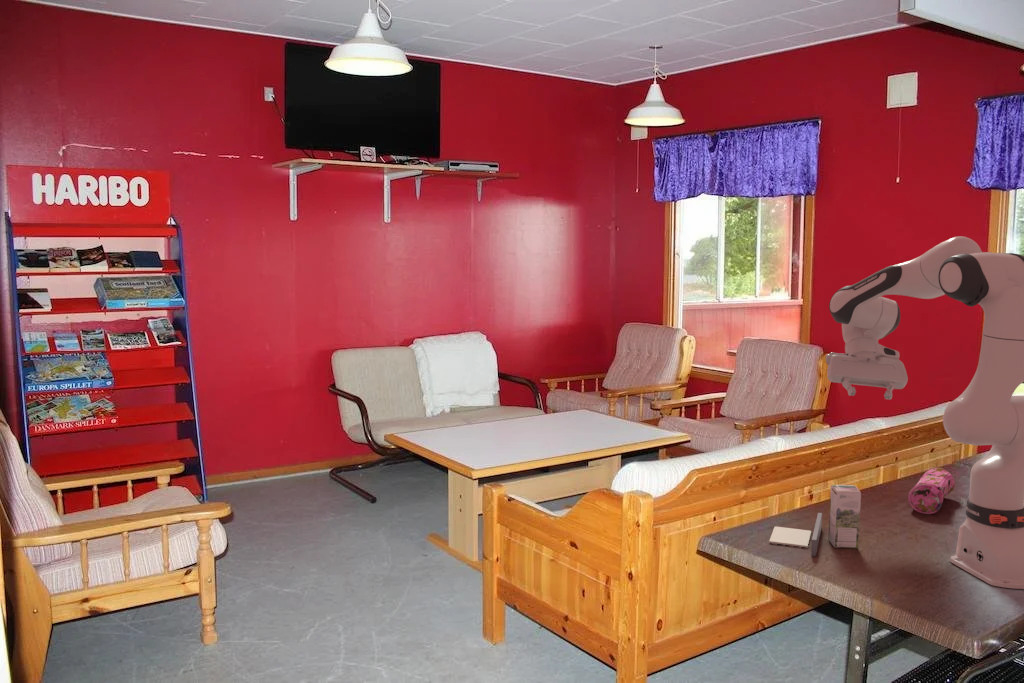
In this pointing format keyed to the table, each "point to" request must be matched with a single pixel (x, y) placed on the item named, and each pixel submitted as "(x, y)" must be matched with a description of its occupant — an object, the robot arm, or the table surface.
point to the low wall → (816, 534)
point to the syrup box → (844, 516)
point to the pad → (790, 536)
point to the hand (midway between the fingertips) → (870, 396)
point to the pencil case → (931, 491)
